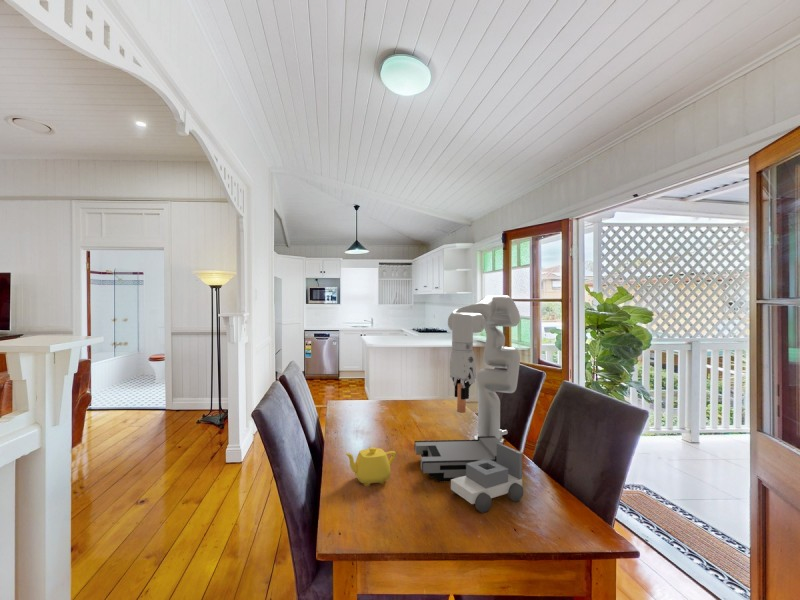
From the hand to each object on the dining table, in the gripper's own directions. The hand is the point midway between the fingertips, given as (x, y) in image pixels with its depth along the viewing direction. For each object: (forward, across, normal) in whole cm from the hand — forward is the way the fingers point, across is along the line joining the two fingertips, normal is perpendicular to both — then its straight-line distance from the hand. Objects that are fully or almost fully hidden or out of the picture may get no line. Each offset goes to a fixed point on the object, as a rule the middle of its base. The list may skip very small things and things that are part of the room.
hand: (461, 397), depth 137 cm
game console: (+26, 0, -1) cm, 26 cm away
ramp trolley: (+26, -20, +6) cm, 33 cm away
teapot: (+26, +7, +33) cm, 43 cm away
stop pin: (+5, 0, 0) cm, 5 cm away
